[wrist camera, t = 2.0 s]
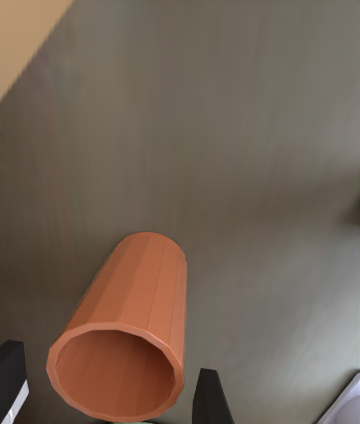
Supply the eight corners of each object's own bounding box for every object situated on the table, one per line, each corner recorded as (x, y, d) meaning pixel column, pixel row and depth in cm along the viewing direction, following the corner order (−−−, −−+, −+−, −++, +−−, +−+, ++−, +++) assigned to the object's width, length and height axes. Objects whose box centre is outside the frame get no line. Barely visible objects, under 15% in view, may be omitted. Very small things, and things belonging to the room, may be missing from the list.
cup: (198, 245, 17) (203, 347, 9) (173, 307, 18) (160, 435, 11) (120, 221, 16) (57, 305, 9) (103, 286, 18) (38, 403, 10)
